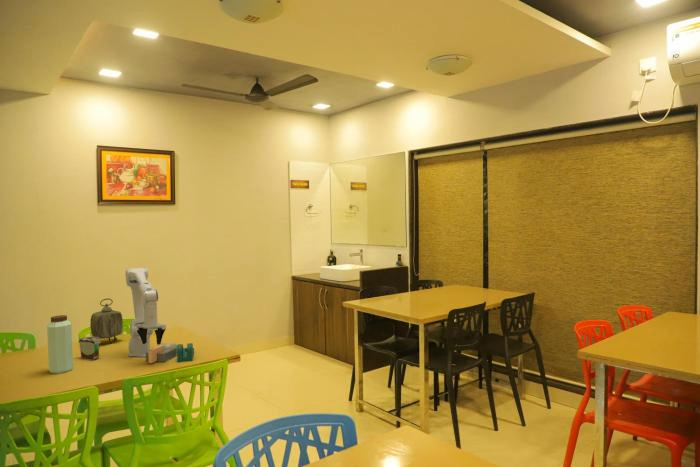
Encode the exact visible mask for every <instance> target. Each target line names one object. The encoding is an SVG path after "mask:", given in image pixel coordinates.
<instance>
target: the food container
mask: <svg viewBox="0 0 700 467" xmlns="http://www.w3.org/2000/svg"><path fill="white" fill-rule="evenodd" d="M101 342H102V341H101V339H100V338H99V337H93V336H84V337H81V338H78V343H79V352H80V359H82V360H88V361H96V360H98V359H99V356H100V343H101Z"/></svg>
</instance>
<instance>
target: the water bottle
mask: <svg viewBox="0 0 700 467" xmlns="http://www.w3.org/2000/svg"><path fill="white" fill-rule="evenodd" d="M72 329H73V328H72V323H71V321H69V320H68V316H67V314H66V315H65V314H63V315H62V314H61V315H54V316H51V317H50V321H49V323H47V325H46V331H47V332H46V334H47V353H48V355H47V356H48V370H49V373H51V374H53V375H54V374H55V375H56V374H63V373H68V372H70V371H72V370H73V369H74V354H73V353H74V352H73V335H72V334H73V331H72Z"/></svg>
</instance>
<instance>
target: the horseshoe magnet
mask: <svg viewBox="0 0 700 467" xmlns="http://www.w3.org/2000/svg"><path fill="white" fill-rule="evenodd" d="M159 345H164V350H163V351H161V352H157V361H156V362H158V363H166V362H168V361H169V360H172V359H174V358H175V357H177V345H178V344H177V343H168V342H167V343H164V342H163V343H162V342H161V344H159ZM159 345H157V346H159ZM145 362H149V356H148V351H146V356H145Z"/></svg>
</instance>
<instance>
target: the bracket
mask: <svg viewBox="0 0 700 467" xmlns="http://www.w3.org/2000/svg"><path fill="white" fill-rule="evenodd" d="M193 345H194V344H193V343H192V342H191V343H189V342H188V343H187V344H186V347H184V344H183V343H180V344H179V343H178V344H177V356H176V360H177V361H176V362H177V363H185V362H187V363H188V362H193V360H194V356H195V348H194V346H193Z"/></svg>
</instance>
